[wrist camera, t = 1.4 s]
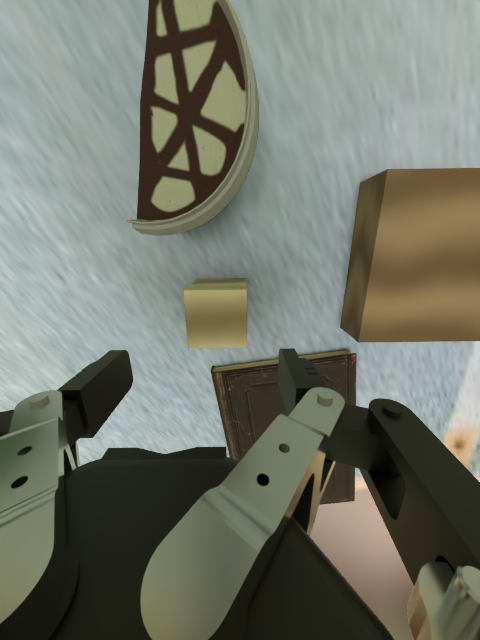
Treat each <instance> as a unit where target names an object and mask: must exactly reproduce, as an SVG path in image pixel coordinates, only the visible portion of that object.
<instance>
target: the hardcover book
mask: <svg viewBox="0 0 480 640" xmlns="http://www.w3.org/2000/svg"><path fill="white" fill-rule="evenodd" d="M298 357H299V358H306V359H308V360H309V361H310V362H312V364H313V365H314V367H315V369H316V370H317V372H318V374H319V375H320V377H321V378H322V380H323V381H324V383H325V385H326V386H327V388H328V389H331V390H334V391H336V392H337V393H339V394H340V395H341V396H342V397H343V398H344V401H345V403H346V404H349V405H353V406H356V353H352V354H349V351H347V350H340V351H333V352H326V353H318V354H311V355H303V356H298ZM278 363H279V359H273V360H266V361H259V362H251V363H244V364H236V365H229V366H221V367H214V366H212V369H211V374H212V378H213V383H214V387H215V392H216V396H217V401H218V406H219V410H220V415H221V419H222V424H223V428H224V433H225V437H226V442H227V446H228V451H229V455H230V458H232V459H235V460H237V461H239V462H240V461H241V459H242V458H243V457H244V456H245V455H246V453H247V452H248V451H249V450H250V449H251V447H252V446H253V445H254V444H255V443H256V441H257V440H258V439H259V438H260V437H261V435H262V434H263V433H264V432H265V431H266V429H267V428H268V427H269V426H270V425H271V423H272V422H273V421H274V420H275V419H276V417H277V416H278V415H280V414H284V415H286V416H287V414H286V411H285V407H284V404H283V400H282V396H281V393H280V389H279V385H278ZM354 497H355V467H353V466H349V465H346V464H342V463H338V462H335V465H334V467H333V470H332V472H331V475H330V477H329V480H328V483H327V485H326V488H325V490H324V493H323V495H322V498H321V500H320V503H319V505H320V504H330V503H339V502H349V501H354Z"/></svg>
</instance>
